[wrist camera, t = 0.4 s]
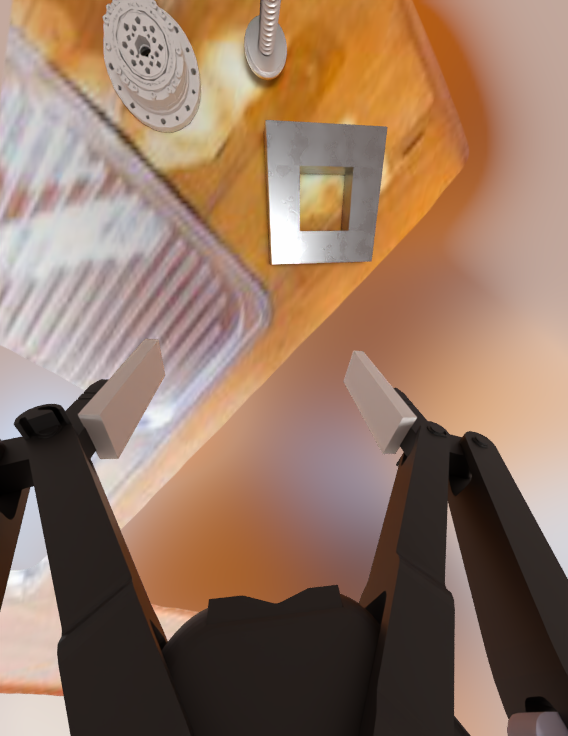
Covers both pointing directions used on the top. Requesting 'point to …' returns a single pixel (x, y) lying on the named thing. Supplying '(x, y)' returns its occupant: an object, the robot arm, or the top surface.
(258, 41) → the screw
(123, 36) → the mechanical component
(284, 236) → the socket plate
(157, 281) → the top surface
